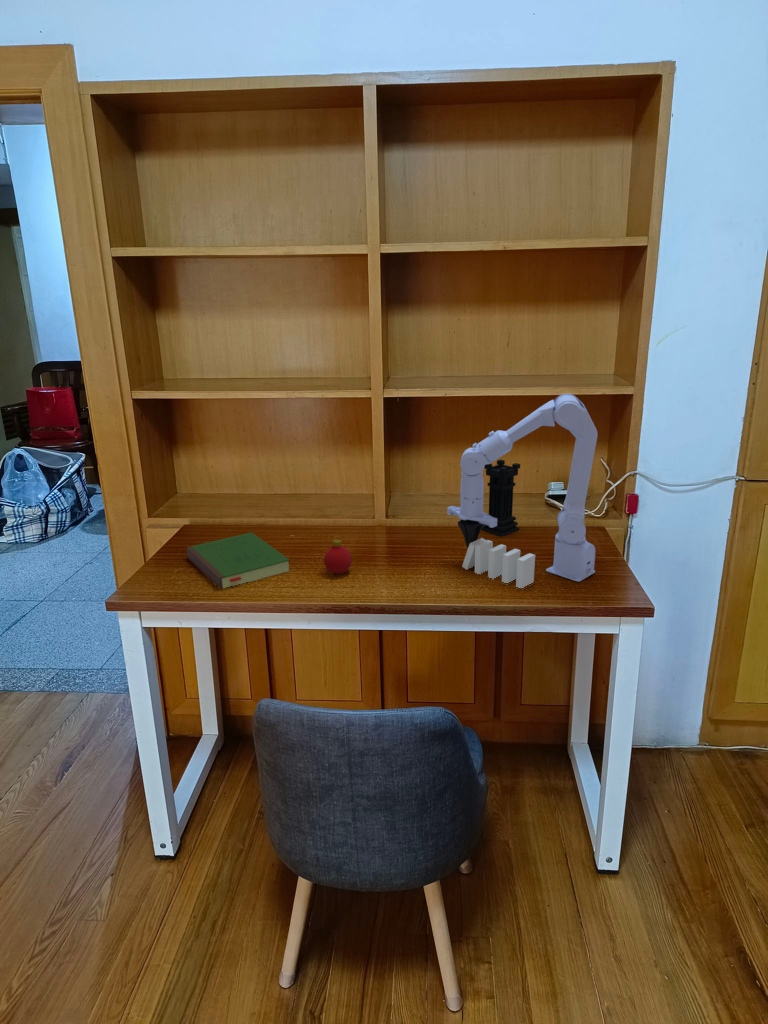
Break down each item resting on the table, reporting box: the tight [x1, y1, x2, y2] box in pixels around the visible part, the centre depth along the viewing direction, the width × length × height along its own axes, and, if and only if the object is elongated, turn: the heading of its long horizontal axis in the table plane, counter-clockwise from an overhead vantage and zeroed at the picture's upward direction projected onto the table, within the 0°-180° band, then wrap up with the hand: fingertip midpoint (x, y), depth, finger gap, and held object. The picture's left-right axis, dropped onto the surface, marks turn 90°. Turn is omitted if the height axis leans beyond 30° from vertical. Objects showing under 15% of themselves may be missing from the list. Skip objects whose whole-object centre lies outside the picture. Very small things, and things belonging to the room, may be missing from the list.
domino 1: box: [461, 537, 486, 570], centre depth 174 cm, size 2×5×8 cm, turn 135°
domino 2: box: [474, 539, 494, 575], centre depth 172 cm, size 2×5×8 cm, turn 134°
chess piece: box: [481, 458, 521, 538], centre depth 197 cm, size 8×8×20 cm
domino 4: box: [501, 548, 522, 584], centre depth 166 cm, size 2×5×8 cm, turn 134°
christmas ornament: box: [323, 535, 353, 575], centre depth 173 cm, size 7×7×10 cm
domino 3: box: [487, 543, 507, 580], centre depth 169 cm, size 2×5×8 cm, turn 134°
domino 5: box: [515, 552, 536, 589], centre depth 164 cm, size 2×5×8 cm, turn 135°
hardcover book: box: [186, 532, 291, 590], centre depth 180 cm, size 25×19×4 cm
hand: (470, 546), depth 174 cm, fingers closed
